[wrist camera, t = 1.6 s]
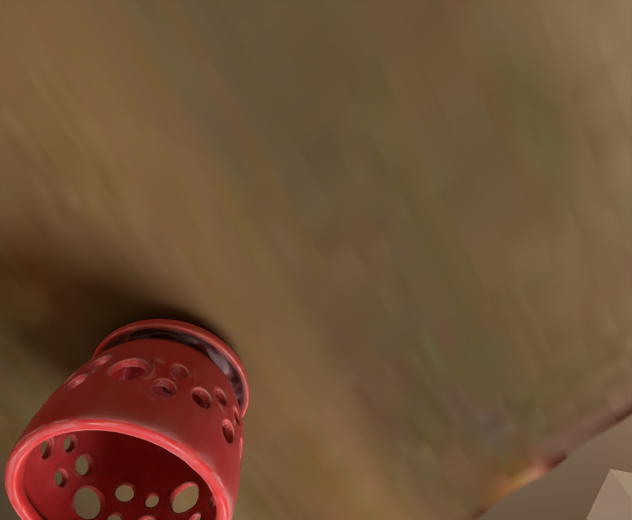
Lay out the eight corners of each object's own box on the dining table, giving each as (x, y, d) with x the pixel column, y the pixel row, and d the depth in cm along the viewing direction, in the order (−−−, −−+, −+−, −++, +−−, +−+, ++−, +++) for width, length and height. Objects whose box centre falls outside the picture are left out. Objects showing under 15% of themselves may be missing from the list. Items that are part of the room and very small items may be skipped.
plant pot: (283, 330, 39) (263, 470, 29) (228, 448, 46) (196, 597, 35) (101, 269, 37) (10, 396, 27) (70, 401, 44) (-13, 545, 33)
